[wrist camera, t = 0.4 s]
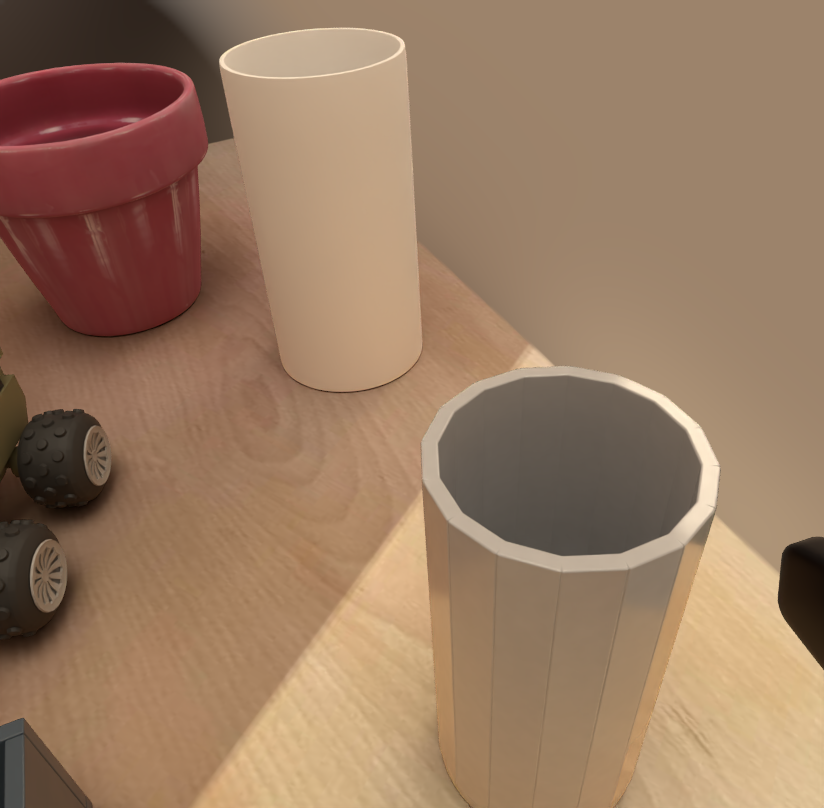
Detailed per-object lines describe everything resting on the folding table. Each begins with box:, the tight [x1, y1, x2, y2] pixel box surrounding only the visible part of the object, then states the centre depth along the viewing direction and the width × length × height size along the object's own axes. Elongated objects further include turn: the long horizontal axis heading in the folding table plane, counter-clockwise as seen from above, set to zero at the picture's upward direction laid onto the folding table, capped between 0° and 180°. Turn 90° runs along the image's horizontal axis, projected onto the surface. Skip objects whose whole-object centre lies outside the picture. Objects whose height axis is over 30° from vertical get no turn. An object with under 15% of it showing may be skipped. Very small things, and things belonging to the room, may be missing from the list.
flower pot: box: [0, 63, 208, 336], centre depth 44 cm, size 14×14×13 cm
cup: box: [220, 28, 422, 392], centre depth 37 cm, size 8×8×16 cm
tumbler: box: [421, 366, 721, 808], centre depth 20 cm, size 6×6×13 cm
